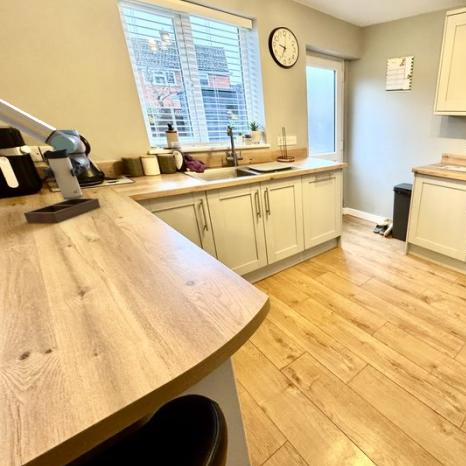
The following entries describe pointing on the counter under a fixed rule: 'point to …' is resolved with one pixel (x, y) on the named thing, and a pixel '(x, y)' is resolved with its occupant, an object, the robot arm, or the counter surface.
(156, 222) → the counter surface
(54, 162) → the travel mug
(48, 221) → the tray
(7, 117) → the robot arm
